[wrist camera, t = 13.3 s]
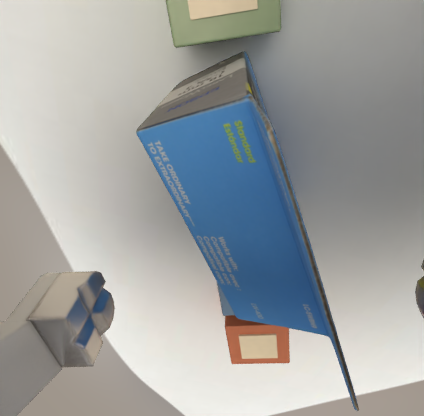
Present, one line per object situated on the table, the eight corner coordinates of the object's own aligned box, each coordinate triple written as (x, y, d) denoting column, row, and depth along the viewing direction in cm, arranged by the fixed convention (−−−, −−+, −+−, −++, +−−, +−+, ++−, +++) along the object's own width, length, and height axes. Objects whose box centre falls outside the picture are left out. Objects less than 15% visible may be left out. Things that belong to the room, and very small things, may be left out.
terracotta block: (226, 281, 23) (224, 328, 20) (281, 278, 23) (288, 326, 19) (232, 317, 25) (231, 366, 22) (282, 316, 25) (289, 365, 21)
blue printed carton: (175, 79, 16) (57, 192, 6) (247, 48, 15) (269, 111, 5) (234, 216, 20) (232, 430, 10) (294, 198, 19) (363, 415, 9)
